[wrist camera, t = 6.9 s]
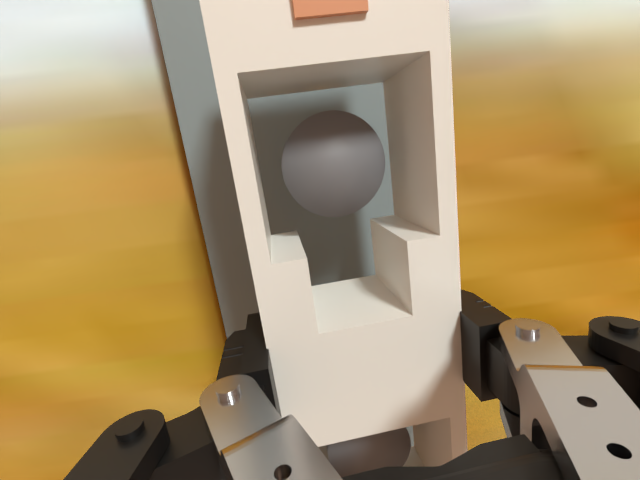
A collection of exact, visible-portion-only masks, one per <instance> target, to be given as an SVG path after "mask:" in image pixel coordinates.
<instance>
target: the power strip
mask: <svg viewBox="0 0 640 480" xmlns="http://www.w3.org/2000/svg"><path fill="white" fill-rule="evenodd" d="M199 2H200V7H201V12H202V17H203V23H204V28H205V33H206V38H207V43H208V48H209V54H210V59H211V64H212V69H213V74H214V80H215V85H216V90H217V95H218V100H219V105H220V111H221V116H222V121H223V126H224V131H225V136H226V142H227V147H228V152H229V157H230V162H231V168H232V173H233V178H234V183H235V188H236V193H237V199H238V204H239V209H240V214H241V219H242V224H243V230H244V235H245V240H246V245H247V250H248V255H249V261H250V266H251V271H252V276H253V281H254V287H255V292H256V297H257V302H258V307H259V312H260V318H261V323H262V328H263V333H264V338H265V343H266V349H269V354H270V359H271V364H272V369H273V375H274V380H275V385H276V390H277V395H278V401H279V406H280V411H281V416H282V418H284V417H285V416H287V415H289V414H291V415H293V416H294V417H295V418H296V419H297V421H298V422H299V423H300V425H301V426H302V427H303V428H304V430H305V431H306V432H307V434H308V435H309V436H310V438H311V439H312V440H313V441H314V443H315V444H316V445H317V447H320V446H325V445H329V444H334V443H338V442H342V441H347V440H351V439H356V438H360V437H365V436H369V435H373V434H378V433H382V432H387V431H391V430H396V429H400V428H404V427H409V426H413V437H414V446H413V447H411V449H410V453H409V456H408V459H407V461H406V462H405V464H404V465H403V467H434V466H441V465H443V464H445V463H447V462H449V461H451V460H453V459H454V458H456V457H458V456H460V455H462V454H464V453H465V452H467V428H466V404H465V382H464V381H463V372H462V349H461V326H460V311H462V309H461V285H460V261H459V237H458V214H457V190H456V166H455V142H454V118H453V94H452V70H451V47H450V23H449V0H199ZM381 82H383V88H384V100H385V111H386V123H387V135H388V146H389V158H390V169H391V181H392V193H393V204H394V215H390V216H384V217H378V218H372V219H370V225H371V235H372V244H373V254H374V264H375V273H376V275H371V276H366V277H360V278H354V279H349V280H343V281H338V282H332V283H327V284H321V285H315V286H311V281H310V274H309V267H308V261H307V257H306V254H305V251H304V249H303V246H302V243H301V240H300V238H299V235H298V232H297V231H292V232H286V233H279V234H273V235H271V232H270V227H269V221H268V215H267V210H266V204H265V198H264V192H263V187H262V181H261V175H260V169H259V164H258V158H257V152H256V147H255V141H254V135H253V129H252V124H251V118H250V112H249V106H248V101H247V99H251V98H259V97H267V96H275V95H283V94H291V93H300V92H308V91H316V90H324V89H332V88H340V87H349V86H357V85H365V84H373V83H381Z"/></svg>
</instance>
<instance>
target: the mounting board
mask: <svg viewBox="0 0 640 480" xmlns="http://www.w3.org/2000/svg"><path fill="white" fill-rule="evenodd" d="M151 1H152V6H153V10H154V14H155V19H156V23H157V28H158V32H159V37H160V41H161V46H162V50H163V55H164V59H165V64H166V68H167V73H168V77H169V82H170V86H171V90H172V95H173V99H174V104H175V108H176V113H177V117H178V122H179V126H180V131H181V135H182V140H183V144H184V149H185V153H186V158H187V162H188V166H189V171H190V175H191V180H192V184H193V189H194V193H195V198H196V202H197V207H198V211H199V216H200V220H201V225H202V229H203V234H204V238H205V243H206V247H207V251H208V256H209V260H210V265H211V269H212V274H213V278H214V283H215V287H216V292H217V296H218V301H219V305H220V310H221V314H222V319H223V323H224V327H225V332H226V336H227V339H228V337H229V336H230V335H231V334H232V333H233V332H234V331H239V330H244V329H246V324H247V317H248V314H253V313H258V312H259V307H258V302H257V297H256V292H255V287H254V281H253V276H252V271H251V266H250V261H249V255H248V250H247V245H246V240H245V235H244V230H243V224H242V219H241V214H240V209H239V204H238V199H237V193H236V188H235V183H234V178H233V173H232V168H231V162H230V157H229V152H228V147H227V142H226V136H225V131H224V126H223V121H222V116H221V111H220V105H219V100H218V95H217V90H216V85H215V80H214V74H213V69H212V64H211V59H210V54H209V48H208V43H207V38H206V33H205V28H204V23H203V17H202V12H201V7H200V2H199V0H151ZM247 101H248V106H249V112H250V118H251V124H252V129H253V135H254V141H255V147H256V152H257V158H258V164H259V169H260V175H261V181H262V187H263V192H264V198H265V204H266V210H267V215H268V221H269V227H270V232H271V235H273V234H279V233H286V232H292V231H297V232H298V235H299V238H300V240H301V243H302V246H303V249H304V251H305V254H306V257H307V261H308V267H309V274H310V281H311V286H315V285H321V284H327V283H332V282H338V281H343V280H349V279H354V278H360V277H366V276H371V275H376V273H375V264H374V254H373V244H372V235H371V225H370V219H372V218H378V217H384V216H390V215H394V204H393V193H392V181H391V169H390V158H389V146H388V135H387V123H386V111H385V100H384V88H383V82H381V83H373V84H365V85H357V86H349V87H340V88H332V89H324V90H316V91H308V92H300V93H291V94H283V95H275V96H267V97H259V98H251V99H247ZM413 446H414V437H413V426H409V427H404V428H400V429H396V430H391V431H387V432H382V433H378V434H373V435H369V436H365V437H360V438H356V439H351V440H347V441H342V442H338V443H334V444H329V445H325V446H320V447H318V448H319V449H320V450H321V452H322V453H323V454H324V456H325V457H326V458H327V460H328V461H329V462H330V463H331V465H332V466H333V467H334V469H335V470H336V471H337V472H338V474H339V475H340V476H341V477H344V476H349V475H353V474H357V473H361V472H365V471H370V470H374V469H378V468H382V467H403V465H404V464H405V462H406V461H407V459H408V456H409V453H410V449H411V447H413Z"/></svg>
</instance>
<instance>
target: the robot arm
mask: <svg viewBox="0 0 640 480" xmlns="http://www.w3.org/2000/svg"><path fill="white" fill-rule="evenodd" d="M461 309H462V311H460V326H461V349H462V372H463V381H464V382H465V383H466V385H467V386H468V387H469V388H470V389H471V390H472V391H473V393H474V394H475V395H476V396H477V397H478V398H479V400H480V401H481V402H482V401H487V400H491V399H495V398H498V399H499V400H500V416H501V419H502V422H503V425H504V429H505V432H506V435H507V438H504V439H500V440H496V441H492V442H488V443H483V444H480V445H478V446H476V447H474V448H473V449H471V450H469V451H467V452H465V453H464V454H462V455H460V456H458V457H456V458H454V459H453V460H451V461H449V462H447V463H445V464H443V465H441V466H434V467H382V468H378V469H374V470H370V471H365V472H361V473H357V474H353V475H349V476H344V477H341V476H340V475H339V474H338V472H337V471H336V470H335V469H334V467H333V466H332V465H331V463H330V462H329V461H328V460H327V458H326V457H325V456H324V454H323V453H322V452H321V450H320V449H319V448H318V447H317V445H316V444H315V443H314V441H313V440H312V439H311V438H310V436H309V435H308V434H307V432H306V431H305V430H304V428H303V427H302V426H301V425H300V423H299V422H298V421H297V419H296V418H295V417H294V416H293V415H291V414H289V415H287V416H285V417H284V418H282V416H281V411H280V406H279V401H278V395H277V390H276V385H275V380H274V375H273V369H272V364H271V359H270V354H269V349H266V343H265V338H264V333H263V328H262V323H261V318H260V312H258V313H253V314H248V317H247V324H246V329H244V330H239V331H234V332H233V333H232V334H231V335H230V336H229V337H228V339H227V340H226V342H225V346H224V351H223V355H222V359H221V363H220V367H219V371H218V375H217V380H216V381H215V382H214V383H212V384H211V385H209V386H208V387H207V388H206V389H205V390H204V391H203V393H202V394H201V396H200V400H199V403H200V406H199V407H198V408H196V409H195V410H193V411H191V412H189V413H187V414H185V415H182V416H180V417H178V418H175V419H173V420H171V421H168V422H165V419H164V415H163V414H162V413H161V412H160V411H157V410H152V409H148V410H141V411H137V412H134V413H131V414H129V415H127V416H125V417H123V418H121V419H119V420H118V421H116V422H115V423H113V424H112V425H110V426H109V427H108V428H107V429H106V430H105V431H104V432H103V433H102V434H101V435H100V437H99V438H98V439H97V440H96V441H95V442H94V444H93V445H92V446H91V447H90V448H89V450H88V451H87V452H86V453H85V454H84V456H83V457H82V458H81V459H80V460H79V462H78V463H77V464H76V465H75V466H74V468H73V469H72V470H71V471H70V472H69V474H68V475H67V476H66V477H65V478H64V479H63V480H640V321H637V320H634V319H629V318H624V317H614V316H605V317H598V318H594V319H592V320H591V321H590V322H589V333H588V336H561V335H560V334H559V333H558V331H557V330H556V329H555V328H554V327H552V326H551V325H549V324H547V323H544V322H541V321H538V320H533V319H525V318H517V319H511V318H510V317H508V316H507V315H505V314H504V313H502V312H501V311H499V310H498V309H496V308H495V307H493V306H492V307H491V305H490V304H489V303H487V302H486V301H483V299H481V298H480V297H478V296H477V295H475V294H474V293H471V292H467V291H464V290H461Z"/></svg>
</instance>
